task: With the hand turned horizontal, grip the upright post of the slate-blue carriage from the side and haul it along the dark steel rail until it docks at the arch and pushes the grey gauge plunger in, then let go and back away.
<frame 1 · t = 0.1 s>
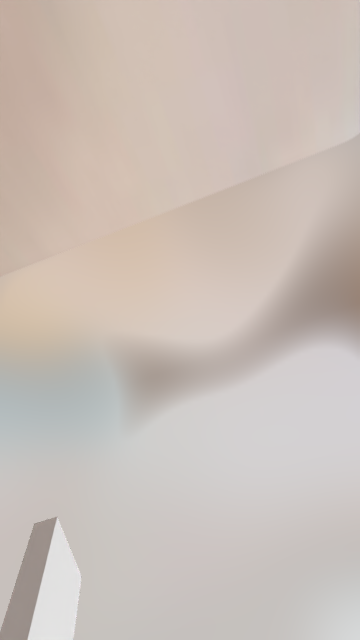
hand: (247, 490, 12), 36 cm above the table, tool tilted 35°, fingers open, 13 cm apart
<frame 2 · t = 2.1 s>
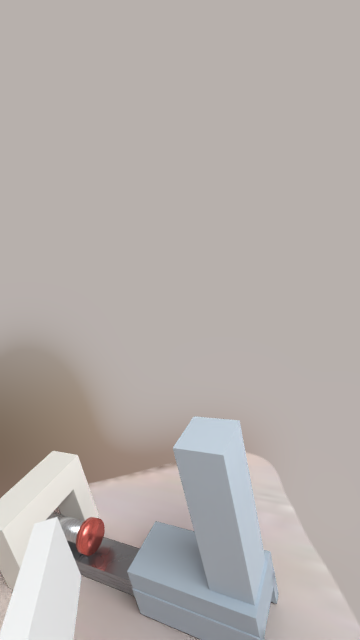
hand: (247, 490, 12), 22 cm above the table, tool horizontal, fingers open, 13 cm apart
plunger: (62, 526, 36), point 4 cm above the table, slide at 0.0 cm
arch: (57, 548, 38), on the table
rail: (129, 575, 33), on the table
carriage: (187, 524, 27), point 9 cm above the table, slide at 0.0 cm
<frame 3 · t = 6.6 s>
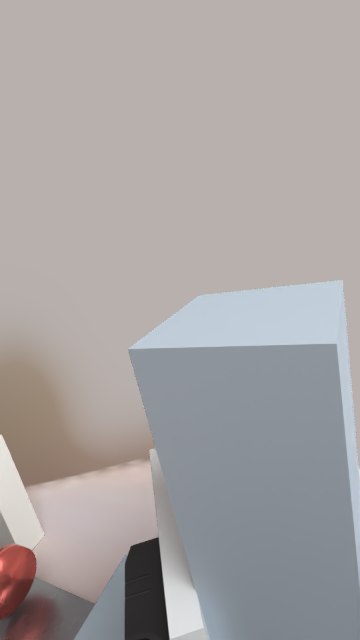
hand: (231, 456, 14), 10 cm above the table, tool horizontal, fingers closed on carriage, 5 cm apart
carriage: (185, 580, 11), point 9 cm above the table, slide at 0.0 cm, touching gripper
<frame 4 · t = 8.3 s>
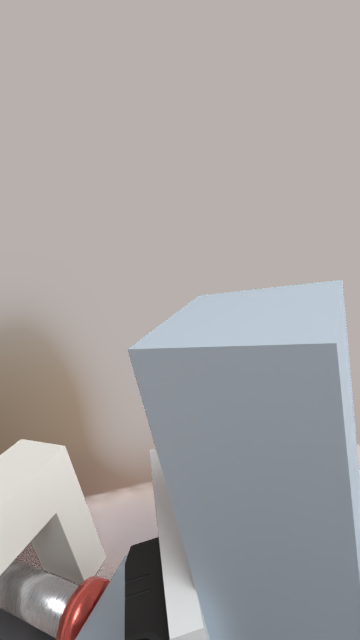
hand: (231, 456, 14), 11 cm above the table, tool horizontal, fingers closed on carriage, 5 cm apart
plunger: (31, 593, 17), point 4 cm above the table, slide at 0.0 cm
arch: (26, 629, 19), on the table
carriage: (185, 580, 11), point 9 cm above the table, slide at 6.0 cm, touching gripper
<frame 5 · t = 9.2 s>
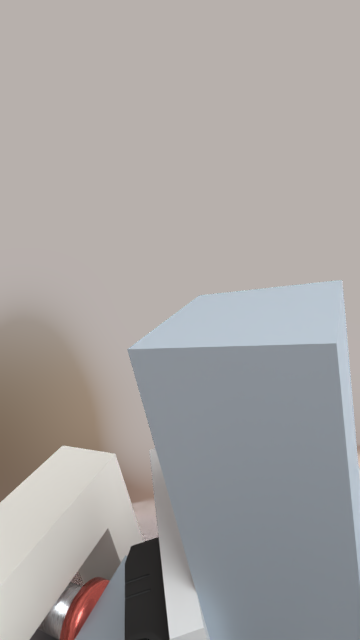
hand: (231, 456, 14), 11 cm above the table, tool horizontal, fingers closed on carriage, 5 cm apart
plunger: (33, 594, 17), point 4 cm above the table, slide at 3.6 cm, touching carriage
carriage: (185, 580, 11), point 9 cm above the table, slide at 9.8 cm, touching gripper, plunger
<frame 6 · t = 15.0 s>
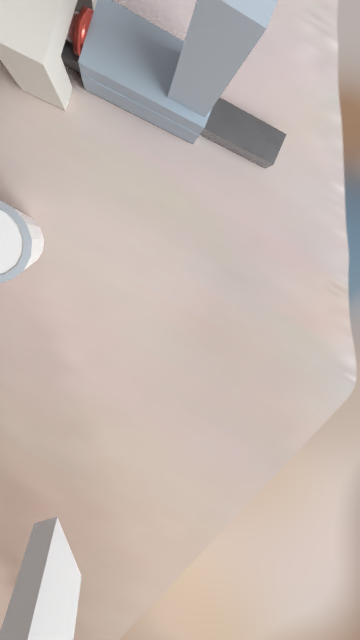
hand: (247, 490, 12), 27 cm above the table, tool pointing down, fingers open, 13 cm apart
plunger: (34, 5, 26), point 4 cm above the table, slide at 3.8 cm, touching carriage
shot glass: (14, 239, 34), on the table
arch: (61, 43, 30), on the table
rail: (165, 98, 32), on the table
carriage: (160, 36, 23), point 9 cm above the table, slide at 10.0 cm, touching plunger
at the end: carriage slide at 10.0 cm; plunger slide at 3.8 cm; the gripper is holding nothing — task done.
